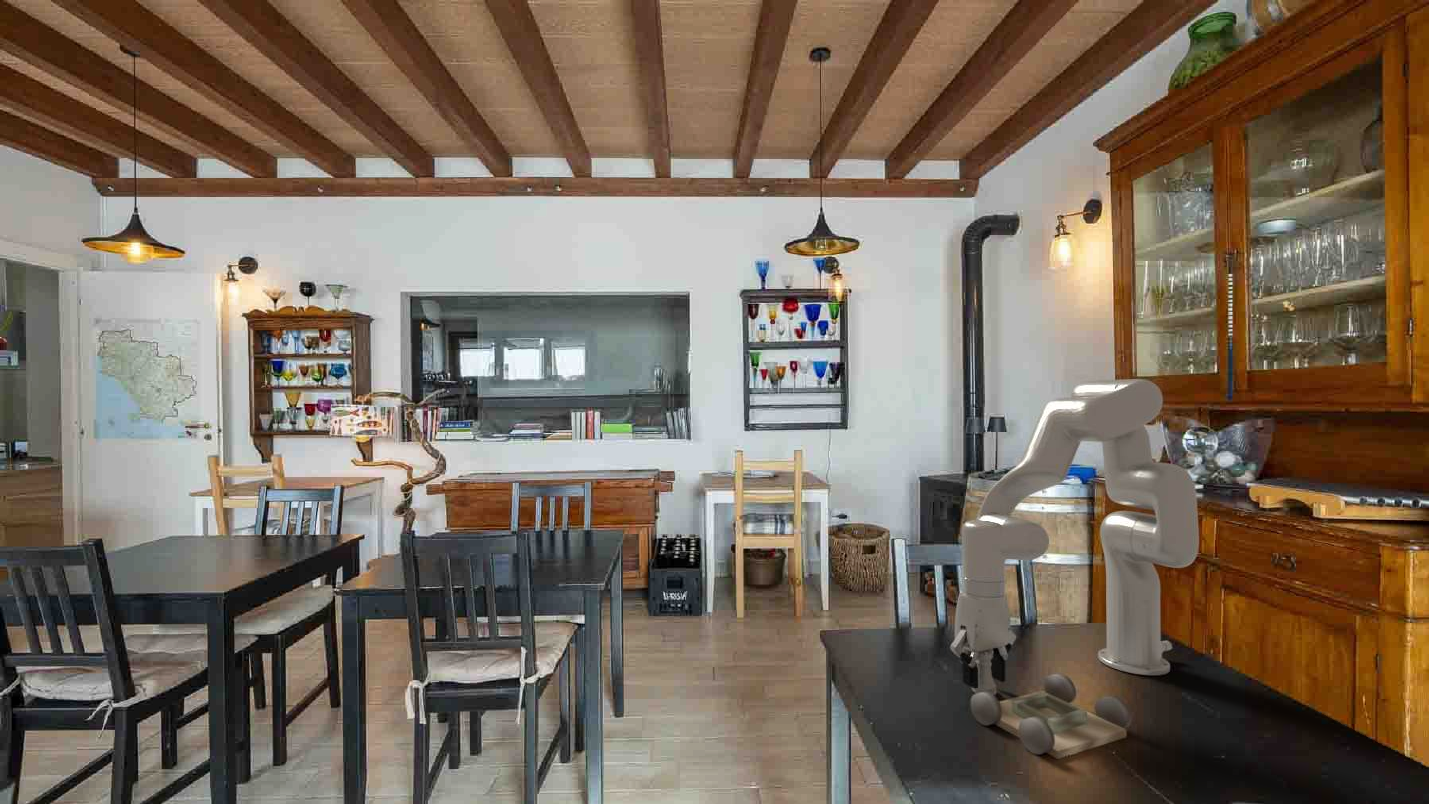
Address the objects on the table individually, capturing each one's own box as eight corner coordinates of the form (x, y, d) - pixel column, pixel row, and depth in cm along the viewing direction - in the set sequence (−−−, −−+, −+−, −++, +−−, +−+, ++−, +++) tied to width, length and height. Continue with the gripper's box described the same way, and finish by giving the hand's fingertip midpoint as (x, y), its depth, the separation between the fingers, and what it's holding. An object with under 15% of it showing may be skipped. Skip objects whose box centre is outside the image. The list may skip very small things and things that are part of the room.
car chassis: (1049, 695, 122) (1049, 668, 122) (1134, 734, 108) (1134, 703, 108) (968, 716, 114) (968, 687, 114) (1048, 762, 99) (1048, 729, 99)
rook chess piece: (999, 698, 121) (999, 655, 121) (973, 696, 122) (973, 653, 122) (994, 688, 125) (993, 646, 125) (969, 686, 126) (969, 644, 126)
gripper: (1001, 577, 131) (1001, 667, 131) (933, 587, 124) (934, 682, 123) (1033, 586, 124) (1033, 681, 124) (963, 597, 117) (964, 699, 117)
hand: (984, 681), depth 124 cm, fingers open, 6 cm apart
